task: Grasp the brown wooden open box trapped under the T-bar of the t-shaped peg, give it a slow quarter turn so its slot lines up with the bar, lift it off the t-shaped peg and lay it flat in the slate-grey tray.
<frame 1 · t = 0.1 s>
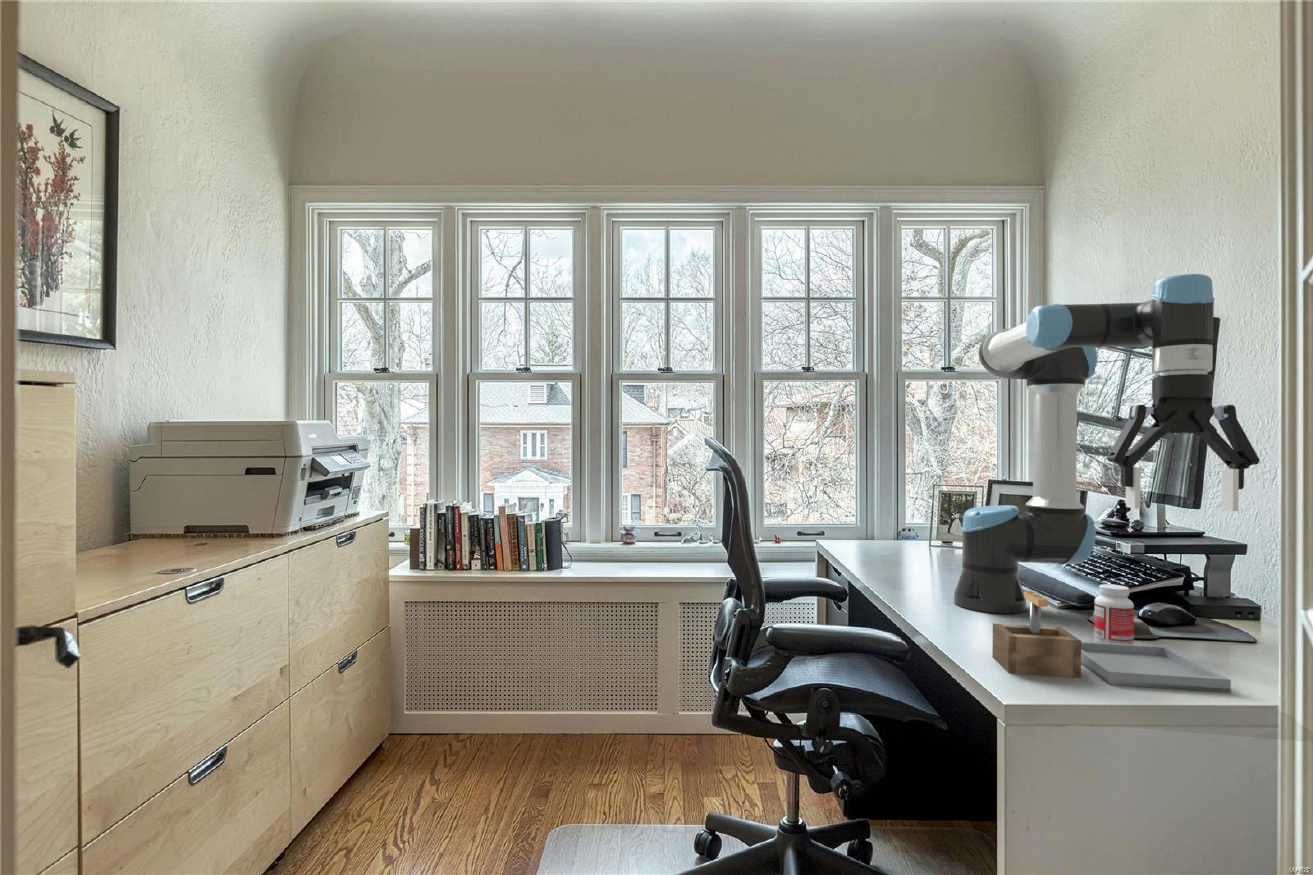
hand: (1180, 509, 104), 28 cm above the table, fingers open, 13 cm apart
pill bottle: (1113, 645, 126), on the table
brown wooden open box: (1034, 666, 113), on the table
t-shaped peg: (1034, 666, 113), on the table
tray: (1139, 670, 112), on the table
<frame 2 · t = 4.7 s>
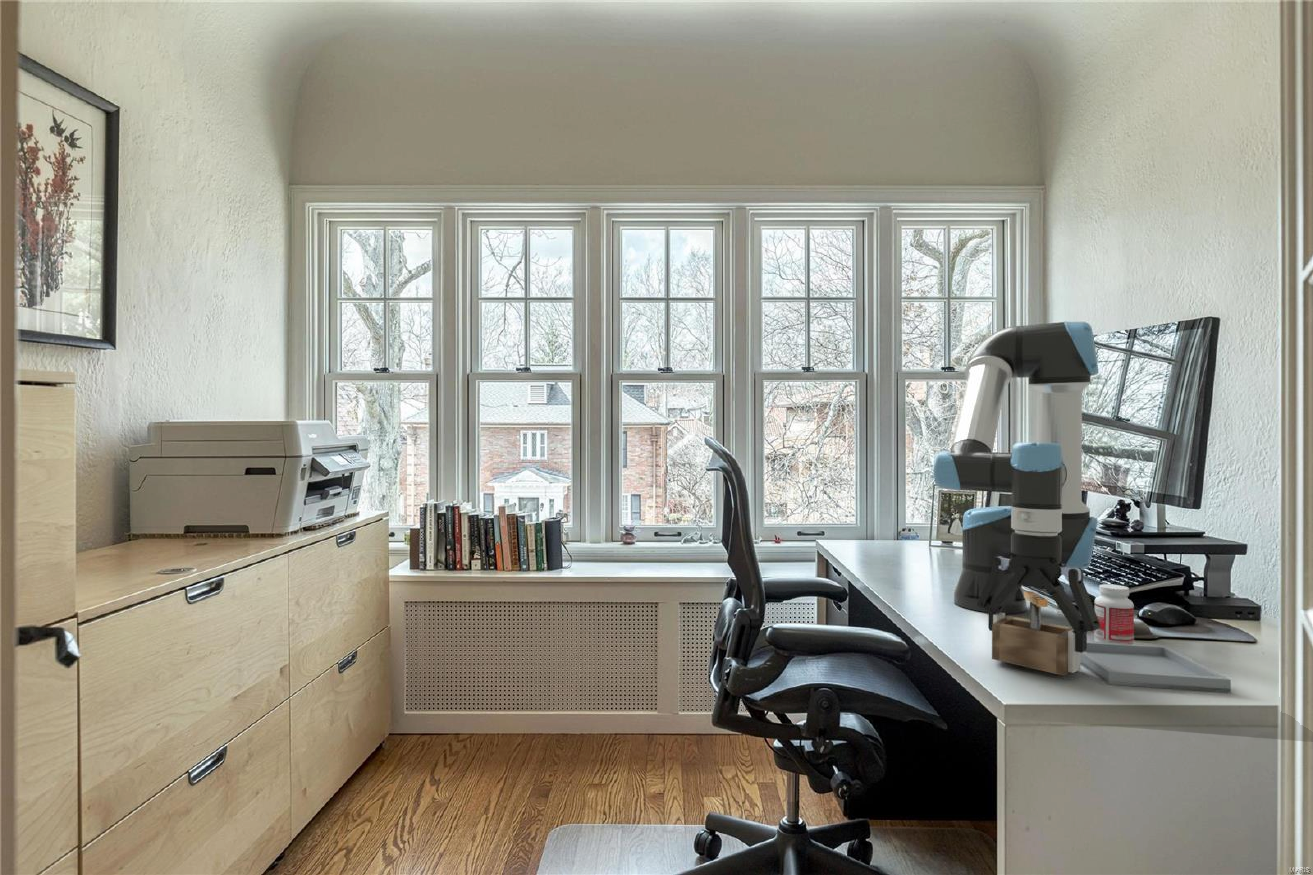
hand: (1034, 660, 113), 1 cm above the table, fingers closed on brown wooden open box, 12 cm apart
brown wooden open box: (1034, 661, 113), point 1 cm above the table, touching gripper
everything else where it was.
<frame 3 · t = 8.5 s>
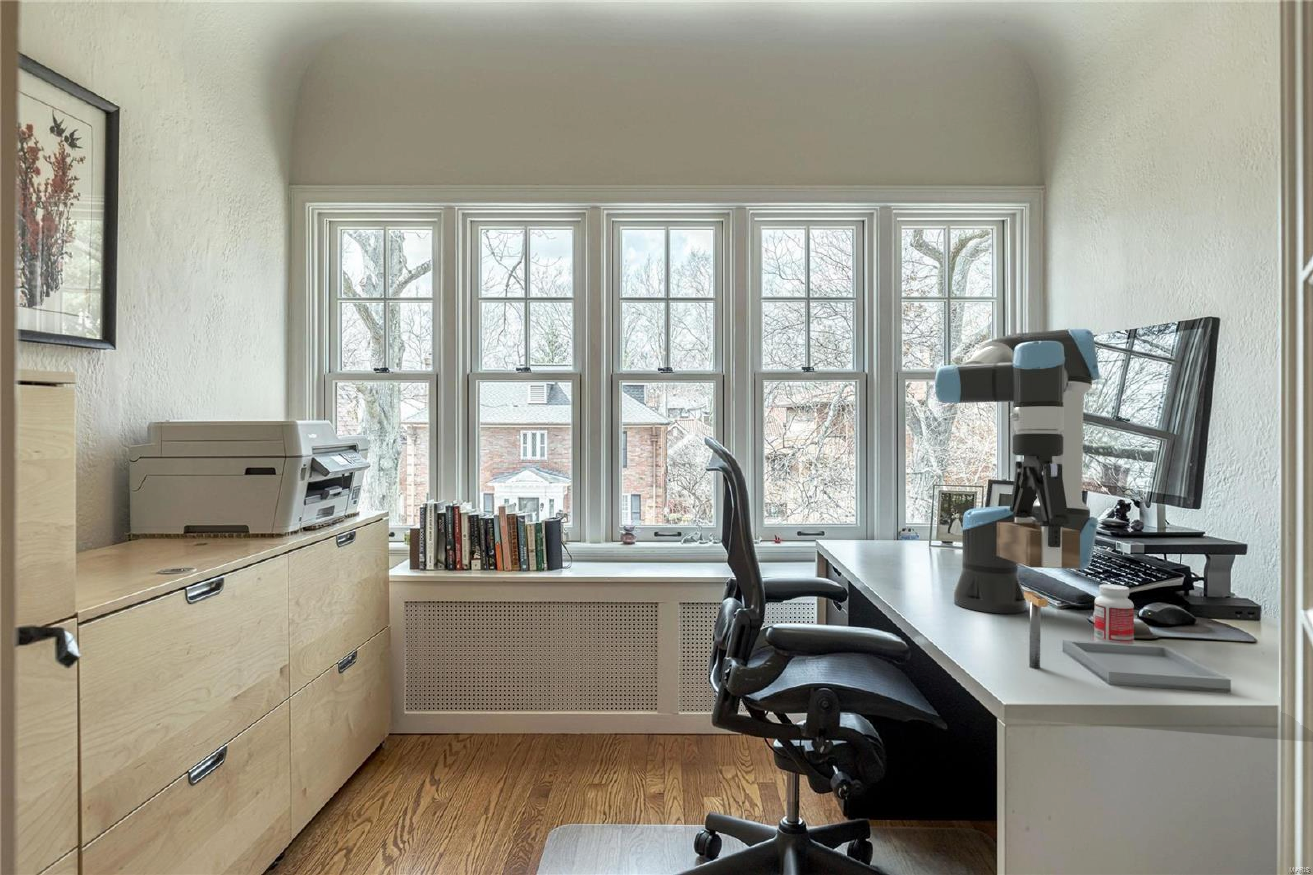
hand: (1036, 560, 113), 18 cm above the table, fingers closed on brown wooden open box, 12 cm apart
brown wooden open box: (1036, 561, 113), point 18 cm above the table, touching gripper
everything else where it was.
when the fingers open (3 cm above the table, at t = 12.6 s): brown wooden open box drops 2 cm, resting on tray.
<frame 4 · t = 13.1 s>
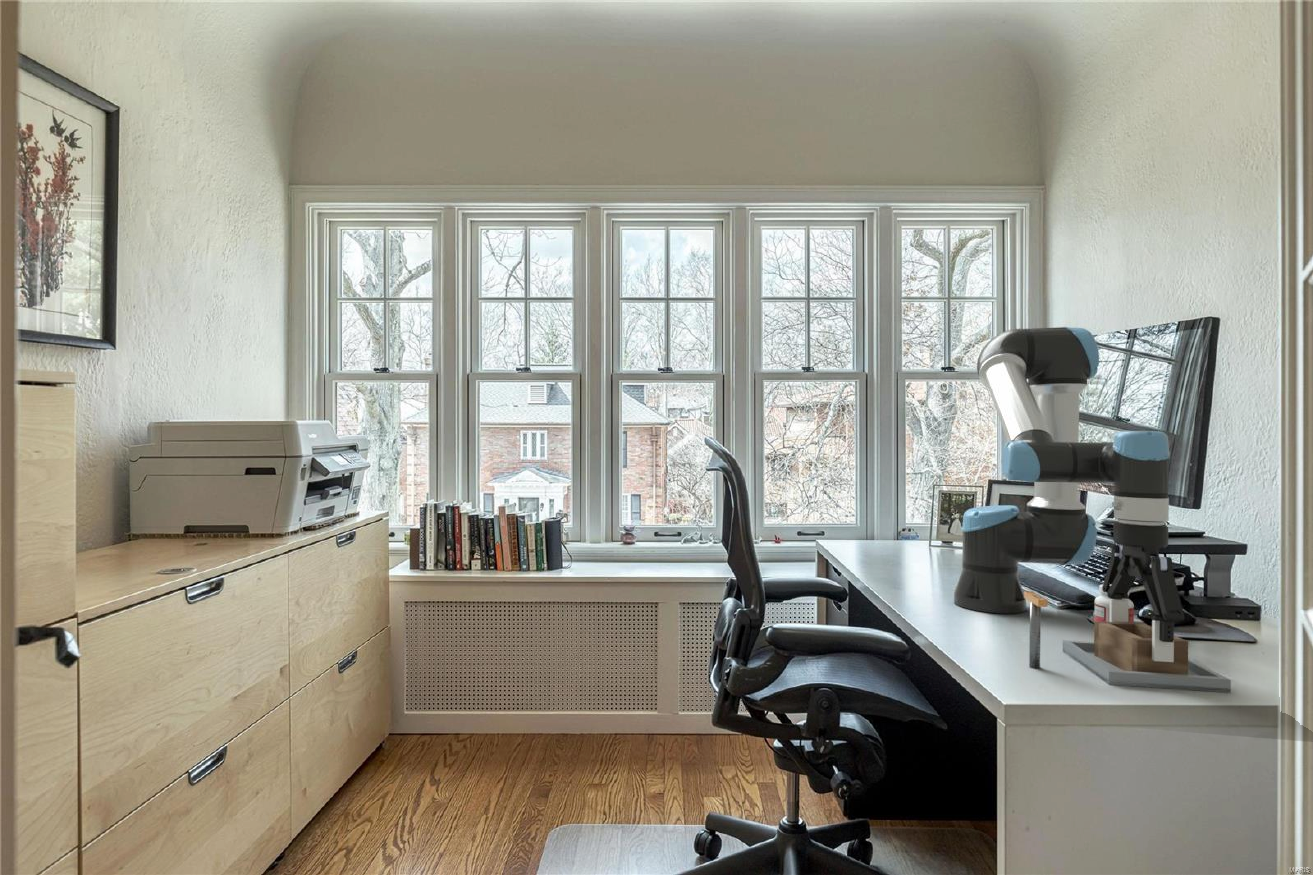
hand: (1139, 648, 112), 4 cm above the table, fingers open, 13 cm apart
brown wooden open box: (1138, 666, 112), point 1 cm above the table, touching tray
everything else where it was.
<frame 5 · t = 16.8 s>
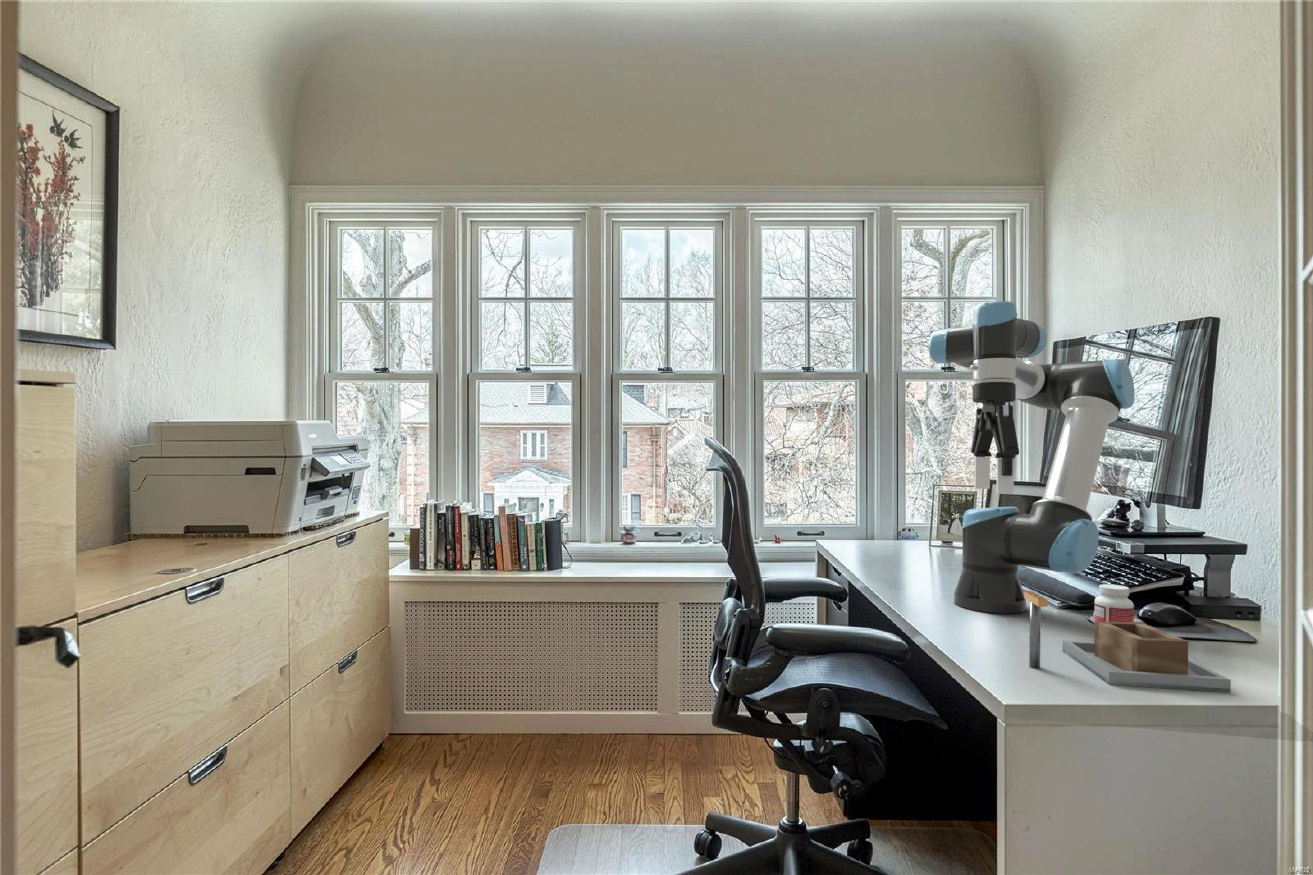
hand: (992, 491, 129), 29 cm above the table, fingers open, 13 cm apart
nothing on the table moved.
at the end: brown wooden open box inside the target area on the tray (0.1 cm from its centre), point 0.6 cm above the tray's base; brown wooden open box tilted 0°; brown wooden open box touching tray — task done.
